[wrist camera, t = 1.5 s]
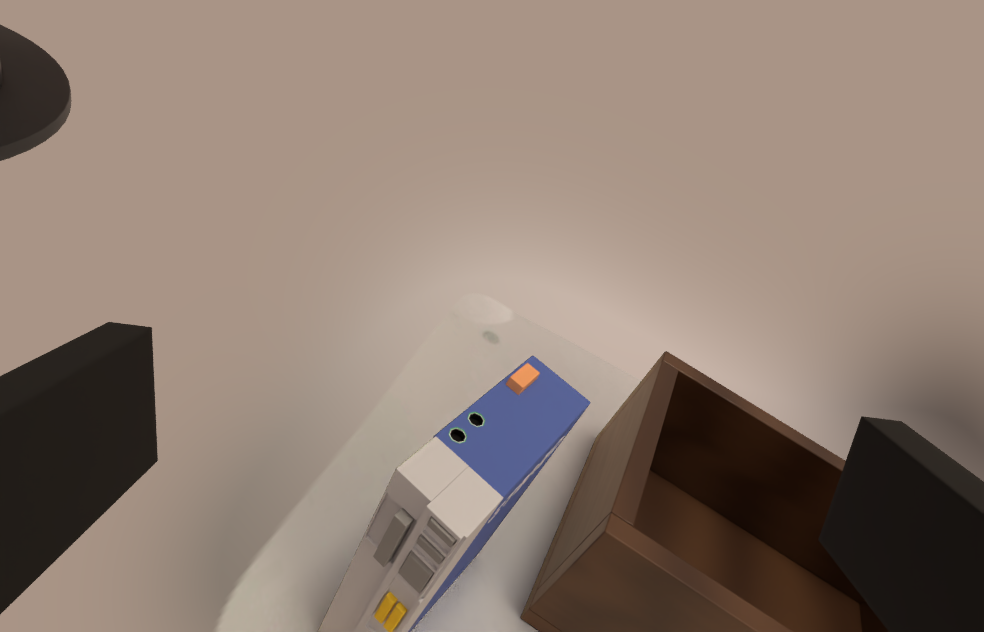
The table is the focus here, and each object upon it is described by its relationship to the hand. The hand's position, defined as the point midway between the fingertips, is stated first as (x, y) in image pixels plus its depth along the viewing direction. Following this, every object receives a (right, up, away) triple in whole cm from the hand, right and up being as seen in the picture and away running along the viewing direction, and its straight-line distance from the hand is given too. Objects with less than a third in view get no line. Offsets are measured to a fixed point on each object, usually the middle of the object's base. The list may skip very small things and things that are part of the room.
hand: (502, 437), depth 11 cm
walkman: (-4, -10, +15) cm, 18 cm away
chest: (+11, -13, +20) cm, 26 cm away
